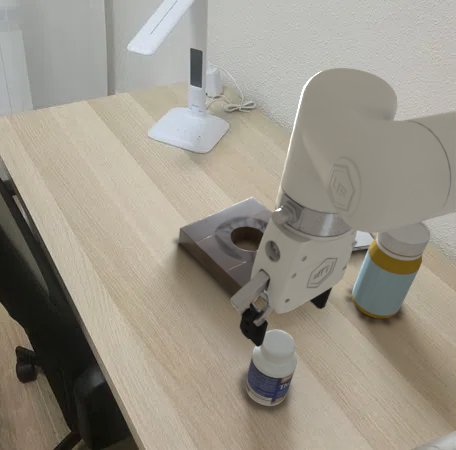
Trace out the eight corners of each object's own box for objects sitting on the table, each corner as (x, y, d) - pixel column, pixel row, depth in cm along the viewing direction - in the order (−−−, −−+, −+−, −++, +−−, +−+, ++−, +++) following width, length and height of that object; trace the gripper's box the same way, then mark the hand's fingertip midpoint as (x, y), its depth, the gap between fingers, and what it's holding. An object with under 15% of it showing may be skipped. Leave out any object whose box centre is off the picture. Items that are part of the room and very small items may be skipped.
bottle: (359, 279, 87) (388, 205, 77) (404, 299, 84) (440, 225, 74) (343, 306, 83) (372, 231, 73) (389, 328, 80) (425, 253, 70)
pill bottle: (279, 414, 69) (295, 368, 62) (239, 397, 70) (250, 350, 64) (291, 380, 73) (306, 334, 66) (252, 365, 74) (263, 318, 68)
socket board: (315, 262, 90) (319, 248, 88) (240, 302, 83) (243, 288, 81) (250, 209, 99) (252, 196, 98) (178, 241, 92) (179, 228, 90)
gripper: (277, 262, 45) (247, 378, 57) (409, 194, 53) (358, 308, 64) (220, 212, 50) (202, 328, 61) (349, 155, 58) (311, 268, 69)
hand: (282, 318), depth 63 cm, fingers open, 9 cm apart
